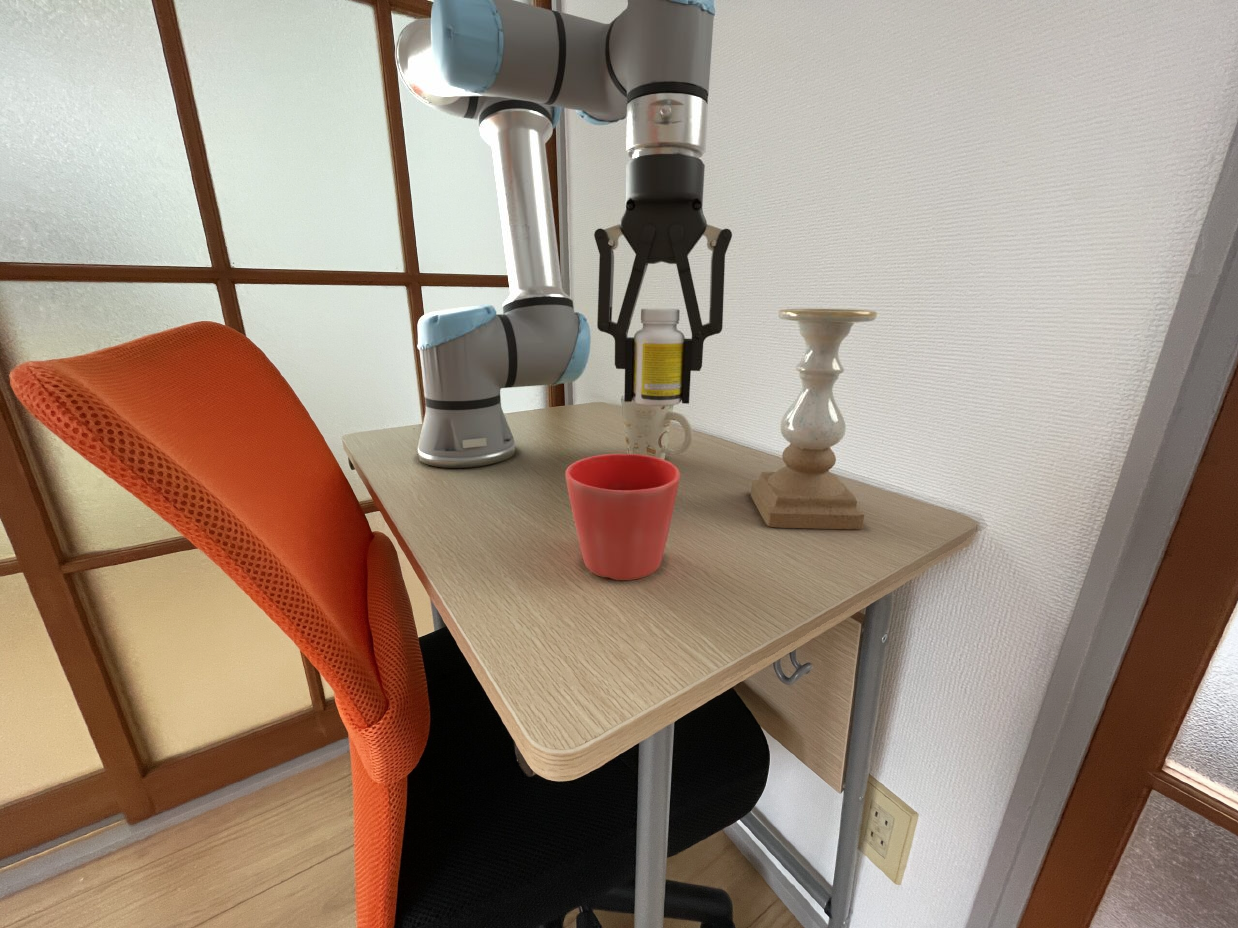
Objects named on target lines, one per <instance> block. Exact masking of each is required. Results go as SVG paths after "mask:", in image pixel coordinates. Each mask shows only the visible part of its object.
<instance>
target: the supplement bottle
mask: <svg viewBox="0 0 1238 928" xmlns="http://www.w3.org/2000/svg"><path fill="white" fill-rule="evenodd" d="M680 313H681V312H680V309H679V308H641V310H640V323H641V324H642V328H641V329H639V330H637V331H636V332H635V333H634V336H633V337H634V351H633V394H632V395H633V401H634V402H635V403H638V404H641V405H647V406H671V405H674V406H676V405H679V404H680V403H682V387H683V368H684V348H685V339H686V337H685V335H684V333H683V332H682V331H681V330H679V329H678V328H677V325H678V324H680V322H679V321H680Z"/></svg>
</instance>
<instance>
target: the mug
mask: <svg viewBox="0 0 1238 928" xmlns="http://www.w3.org/2000/svg"><path fill="white" fill-rule="evenodd" d="M624 395H625V394H623V395H622V396H621V397H620V403H621V404H620V405H621V413H622V421H623V422H622V423H623V428H624V429H623V430H624V438H625V439H624V440H625V448H626V454H639V455H647V456H652V457H657V458H660V459H663V460H666V455H669V456H670V455H671V456H678V455H681V454H684V453H685V452H686V451H687V450H689V448H690V447H691V444H692V443H693V438H694V437H693V436H694V433H693V428H692V425H691V423H690V421H689V420H688V418H687V417H686V415H684V414H682V413H680V412H675V411H674V406H675V405H671V406H647V405H641V404H638V403H635V402H634V401H633V399H632V401H631V402H624ZM672 421H676V422H678V423H679V424H680V425H681V426H682V429H683V431H684V439H683V442H682V444H681V445H680V446H679V447H678V448H676V449H674V448H673V449H672V448H669V447H667V446H668V442H669V436H670V430H671V424H672Z"/></svg>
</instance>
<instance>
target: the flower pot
mask: <svg viewBox="0 0 1238 928" xmlns="http://www.w3.org/2000/svg"><path fill="white" fill-rule="evenodd" d="M680 479H681V472H680V470H679V468H678V467H677V466H676V465H674V464H673V463H672V462H670V461H668V460H666V459H664V460H663V459H660V458H657V457H652V456H647V455H639V454H627V453H607V454H597V455H594V456H588V457H585V458H581V459H579V460H577V461H575V462H573V463H571V464H570V465H569V466H568V467H567V468H566V470H565V481H566V487H567V492H568V497H569V502H570V506H571V507H570V508H571V512H572V516H573V522H574V525H575V531H576V534H577V539H578V542H579V546H580V550H581V555H582V559H583V563H584V565H585V567H586V568H587V570H589V572H591V573H593V574H594V575H596V576H598V577H601V578H610V579H611V580H615V581H633V580H637V579H642V578H646V577H648V576H650V575H652V574H653V573H655V572H656V571H657V570H658V569H659V568H660V566H661V564H662V561H663V557H664V553H665V549H666V546H667V541H668V537H669V532H670V527H671V523H672V519H673V513H674V508H675V504H676V499H677V494H678V490H679V484H680Z"/></svg>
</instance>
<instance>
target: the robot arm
mask: <svg viewBox="0 0 1238 928" xmlns="http://www.w3.org/2000/svg"><path fill="white" fill-rule="evenodd" d="M430 13H431V14H430V17H423V18H418V19H415V20H413V21H411V22H409V23H407V25H406V26H405V27H403V29H402V30H401V31H400V33H399V35H398V36H397V40H396V43H395V49H394V58H395V64H396V69H397V72H398V75H399V77H400V80H401V81H402V82H403V85H404V86H405V88H406V89H407V90H408V92H410V94H412V95H413V96H414V97H415V98H416V99H417V100H419V101H420V102H422V103H423V104H425V105H426V106H427V107H430V108H431V109H433V110H436V111H439V112H441V113H443V114H446V115H449V116H453V117H457V118H458V117H459V118H463V119H470V120H474V121H478V126H479V134H480V136H481V139H483V141H484V142H485V143H486V144H488V145H489V146H490V147H491V151H492V159H493V167H494V177H495V183H496V184H495V185H496V191H497V198H498V199H497V200H498V207H499V215H500V220H501V221H500V222H501V229H502V230H501V231H502V238H503V246H504V254H505V262H506V270H507V271H506V272H507V279H508V285H509V293H510V294H509V296H508V297H507V298H506V300H505V301H504V302H503V303H502V312H503V313H501V314H499V313H498V314H497V310H496V308H495V306H494V305H492V304H482V305H473V306H464V307H462V306H461V307H457V308H449V309H442V310H436V311H431V312H428V313H426V314H423V315H422V316H421V317H420V318H419V319H418V322H417V349H418V350H419V357H420V367H421V368H420V369H421V376H422V377H421V378H422V386H423V396H424V404H425V414H424V418H423V423H422V427H421V429H420V435H419V439H418V442H417V443H418V444H417V453H418V454H417V455H418V460H419V461H420V462H422V463H423V464H425V465H428V466H432V467H436V468H447V469H465V468H475V467H476V468H477V467H485V466H489V465H494V464H497V463H499V462H503V461H506V460H508V459H509V458H511V457H512V456H514V455H515V453H516V445H515V444H516V443H515V439H514V438H515V437H514V436H513V434H512V431H511V428H510V425H509V423H508V421H507V418H506V415H505V412H504V411H503V408H502V399H501V390H502V389H512V388H524V387H525V388H526V387H536V386H537V387H539V386H557V385H561V384H569V383H573V382H575V381H577V380H578V379H579V378H581V376H582V375H583V374H584V372H585V370H586V367H587V365H588V363H589V358H590V353H591V342H592V341H591V339H592V338H591V328H590V324H589V322H588V319H587V317H586V316H585V315H584V314H582V313H580V312H577V311H575V308H574V301H573V300H574V299H573V298H572V297H571V296H570V295H568V293H566V292H565V291H564V290H563V285H562V284H563V283H562V275H561V266H560V259H559V250H558V242H557V233H556V225H555V217H554V216H555V215H554V209H553V201H552V190H551V183H550V182H551V181H550V173H549V166H548V158H547V149H546V143H547V142H548V141H549V140H550V138H551V137H552V135H553V133H554V132H553V129H555V128H556V127H557V126H558V124H559V121H560V119H561V114H562V109H567V110H568V109H569V110H574V111H575V113H576V114H577V115H578V116H580V117H581V118H582V119H583V120H585V121H586V122H587V123H589V124H590V125H591V124H592V125H594V126H606V125H607V126H608V125H611V124H614V123H618V122H619V121H623V120H625V119H626V122H625V123H626V127H625V128H626V130H625V132H626V133H625V139H626V140H625V152H626V155H627V156H628V157H630V158H631V159H629V161H627V163H626V165H625V189H624V190H625V192H624V193H625V197H624V198H625V199H624V201H625V202H624V204H625V206H624V212H623V215H622V217H621V218H620V220H619V224H616V225H613V226H610V227H607V228H601V227H600V228H597V229H595V231H594V233H593V237H594V240H595V244H596V247H597V251H598V254H599V260H598V261H599V262H598V263H599V265H598V292H597V295H598V296H597V323H596V324H597V326H596V327H597V329H598V330H599V332H602V333H606V334H608V335H610V336H612V337H613V339H614V366H615V369H616V370H624V394H623V395H624V402H631V401H632V399H633V395H632V394H633V351H634V336H633V337H631V336H629V335H628V334H629V330H630V326H631V323H632V320H633V316H634V313H635V310H636V306H637V303H638V299H639V297H640V292H641V289H642V287H643V282H644V279H645V276H646V273H647V270H648V266H649V265H656V264H659V263H664V264H668V265H675V266H676V270H677V274H678V279H679V283H680V288H681V291H682V292H681V293H682V296H683V301H684V305H685V310H686V315H687V319H688V323H689V327H690V328H689V329H690V333H691V338H685V348H684V368H683V387H682V400H681V404H683V405H684V404H686V405H687V404H688V405H689V404H690V394H691V393H690V392H691V376H692V375H691V374H692V372H701V369H702V367H703V355H704V342H705V340H706V339H707V338H709V337H712V336H714V335H718V334H720V333H721V332H722V331H723V326H724V325H723V323H724V322H723V321H724V294H725V269H726V266H725V265H726V253H727V251H728V248H729V246H730V244H731V242H732V241H731V240H732V238H733V232H732V230H731V229H729V228H719V227H716V226H714V225H710V224H709V223H707V219H706V217H705V214H704V210H703V204H704V203H703V201H704V184H705V168H706V165H705V163H704V161H703V160H702V159H701V158H702V157H703V156H704V155H705V153H706V151H707V150H706V149H707V132H708V130H707V129H708V113H709V106H708V103H709V102H708V101H709V95H710V94H709V93H710V79H711V78H710V76H711V64H712V63H711V62H712V50H713V49H712V47H713V34H714V20H715V19H714V17H715V16H716V7H715V0H627V6H626V8H625V9H624V10H622V12H621V13H619V15H617V17H615V18H614V19H613V20H612V21H611V22H610V23H603V22H600V21H596V20H592V19H589V18H585V17H582V16H577V15H573V14H570V13H566V12H562V11H558V10H553V9H549V8H543V7H540V6H537V5H533V4H530V3H526V2H522V1H518V0H433V3H432V4H431V12H430ZM621 237H624V238H625V240H626V242H627V243H628V245H629V246H630V248H631V249H632V251H633V253H634V254H635V257H634V259H633V264H632V266H631V267H632V268H631V272H630V275H629V280H628V283H627V286H626V290H625V293H624V296H623V300H622V304H621V307H620V310H619V314H618V318H617V322H616V321H613V299H614V275H615V274H614V273H615V253H614V251H616V250H618V249H619V246H620V238H621ZM702 237H704V238H706V247H707V249H708V250H709V251H710V252H711V257H710V274H709V275H710V279H709V313H708V315H709V316H708V317H709V319H708V322H707V323H704V324H703V321H702V317H701V312H700V308H699V304H698V299H697V294H696V289H695V284H694V280H693V275H692V270H691V265H690V260H689V255H690V253H691V252H692V251H693V249H694V248H695V246H697V244H698V242H699V241H700V240H701V238H702ZM628 336H629V337H628Z"/></svg>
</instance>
